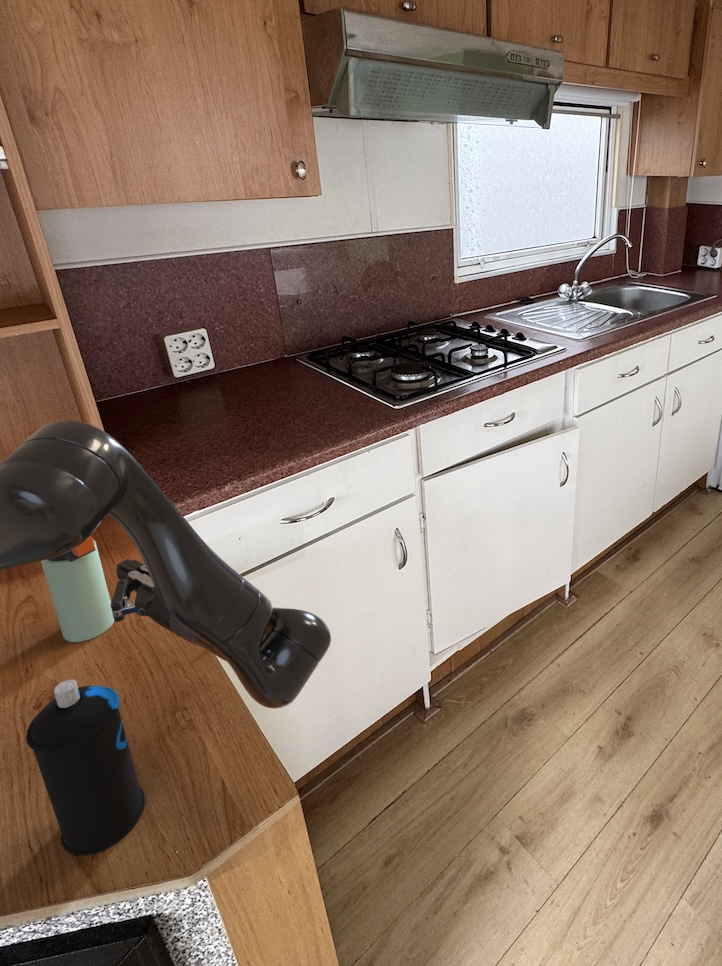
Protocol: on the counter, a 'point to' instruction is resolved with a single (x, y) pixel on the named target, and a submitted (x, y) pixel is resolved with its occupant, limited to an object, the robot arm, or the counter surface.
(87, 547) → the nozzle button
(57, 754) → the black bottle
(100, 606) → the sports bottle
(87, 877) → the counter surface
